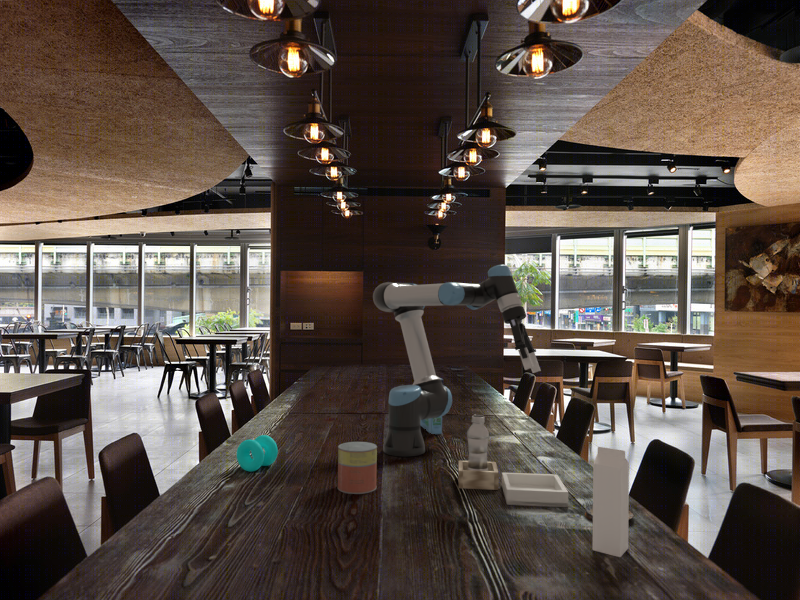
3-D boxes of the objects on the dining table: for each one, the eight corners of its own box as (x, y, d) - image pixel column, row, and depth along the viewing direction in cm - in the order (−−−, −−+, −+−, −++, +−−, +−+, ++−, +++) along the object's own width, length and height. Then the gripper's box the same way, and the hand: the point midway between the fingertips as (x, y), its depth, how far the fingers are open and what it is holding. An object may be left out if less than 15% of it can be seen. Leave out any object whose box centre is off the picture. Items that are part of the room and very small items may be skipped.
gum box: (419, 425, 255) (419, 373, 255) (430, 424, 256) (430, 373, 257) (431, 434, 236) (431, 379, 236) (442, 434, 237) (443, 378, 238)
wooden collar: (458, 488, 167) (458, 470, 167) (458, 476, 178) (458, 460, 178) (498, 489, 166) (498, 472, 166) (495, 478, 177) (495, 461, 177)
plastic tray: (506, 504, 153) (507, 489, 153) (501, 486, 169) (502, 472, 169) (568, 507, 152) (568, 492, 152) (557, 488, 168) (557, 474, 168)
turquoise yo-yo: (279, 466, 187) (279, 435, 187) (259, 474, 178) (260, 442, 178) (254, 462, 191) (255, 432, 191) (234, 470, 182) (234, 438, 182)
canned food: (382, 484, 170) (382, 443, 170) (367, 496, 159) (368, 452, 159) (347, 480, 173) (347, 440, 174) (330, 491, 163) (331, 448, 163)
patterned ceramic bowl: (610, 530, 137) (610, 499, 137) (574, 514, 148) (574, 485, 148) (645, 522, 143) (645, 492, 143) (608, 507, 153) (608, 479, 153)
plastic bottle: (488, 487, 168) (489, 418, 168) (465, 485, 169) (466, 417, 170) (489, 480, 174) (490, 414, 175) (467, 479, 176) (467, 413, 176)
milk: (600, 541, 130) (601, 443, 130) (628, 548, 126) (629, 447, 127) (592, 550, 125) (592, 448, 125) (620, 558, 121) (621, 453, 122)
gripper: (514, 298, 178) (537, 363, 172) (529, 311, 201) (550, 369, 194) (492, 306, 181) (514, 370, 174) (509, 319, 203) (529, 376, 197)
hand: (533, 370), depth 184 cm, fingers open, 13 cm apart
